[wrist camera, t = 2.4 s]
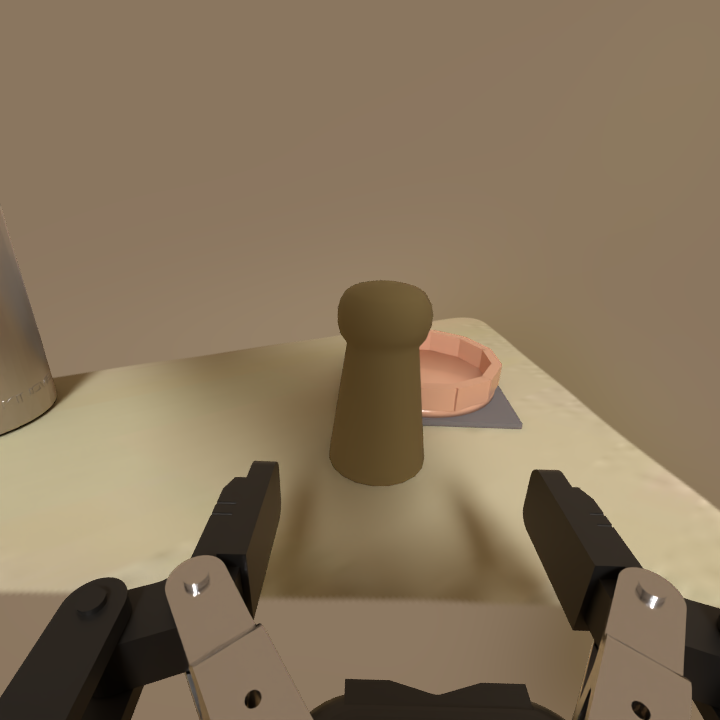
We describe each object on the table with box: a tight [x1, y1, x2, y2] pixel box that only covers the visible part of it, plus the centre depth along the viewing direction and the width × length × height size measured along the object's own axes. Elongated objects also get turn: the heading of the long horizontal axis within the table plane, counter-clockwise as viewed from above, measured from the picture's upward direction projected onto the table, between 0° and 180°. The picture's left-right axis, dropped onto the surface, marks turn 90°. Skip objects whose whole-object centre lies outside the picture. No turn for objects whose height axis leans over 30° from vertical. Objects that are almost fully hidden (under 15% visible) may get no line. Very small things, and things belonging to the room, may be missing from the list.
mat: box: [422, 386, 522, 429], centre depth 36 cm, size 13×13×1 cm
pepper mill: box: [329, 280, 433, 486], centre depth 24 cm, size 6×6×11 cm
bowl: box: [419, 330, 502, 418], centre depth 35 cm, size 12×12×2 cm
